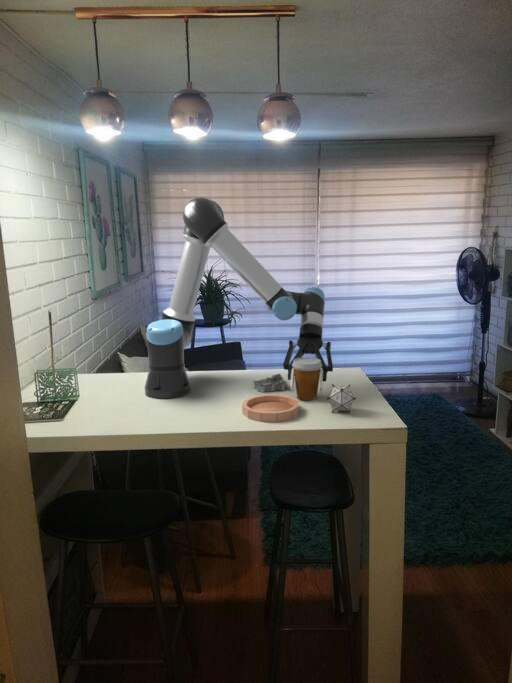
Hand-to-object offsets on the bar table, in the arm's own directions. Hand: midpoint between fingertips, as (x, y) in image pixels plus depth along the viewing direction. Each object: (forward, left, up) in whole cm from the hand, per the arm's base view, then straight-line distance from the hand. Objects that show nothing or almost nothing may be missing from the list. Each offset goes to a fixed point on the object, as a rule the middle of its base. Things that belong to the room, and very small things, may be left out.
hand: (306, 388), depth 158 cm
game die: (+13, +4, -4) cm, 14 cm away
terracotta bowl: (+3, -14, -4) cm, 15 cm away
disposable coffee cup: (-3, +2, -4) cm, 5 cm away
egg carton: (-17, -4, -4) cm, 18 cm away
